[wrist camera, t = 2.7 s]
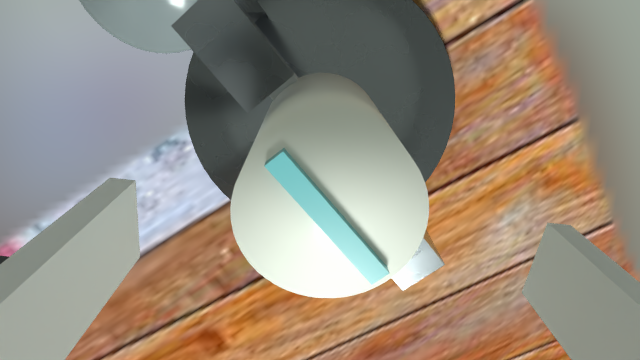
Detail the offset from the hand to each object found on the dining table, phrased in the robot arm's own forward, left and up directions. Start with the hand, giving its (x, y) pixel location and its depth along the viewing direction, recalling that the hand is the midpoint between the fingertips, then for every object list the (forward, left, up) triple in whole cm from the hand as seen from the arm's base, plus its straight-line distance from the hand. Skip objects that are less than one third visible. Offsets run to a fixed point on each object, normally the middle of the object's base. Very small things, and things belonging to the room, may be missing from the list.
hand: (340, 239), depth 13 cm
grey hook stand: (0, 0, -18) cm, 18 cm away
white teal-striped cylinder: (0, 0, -13) cm, 13 cm away
